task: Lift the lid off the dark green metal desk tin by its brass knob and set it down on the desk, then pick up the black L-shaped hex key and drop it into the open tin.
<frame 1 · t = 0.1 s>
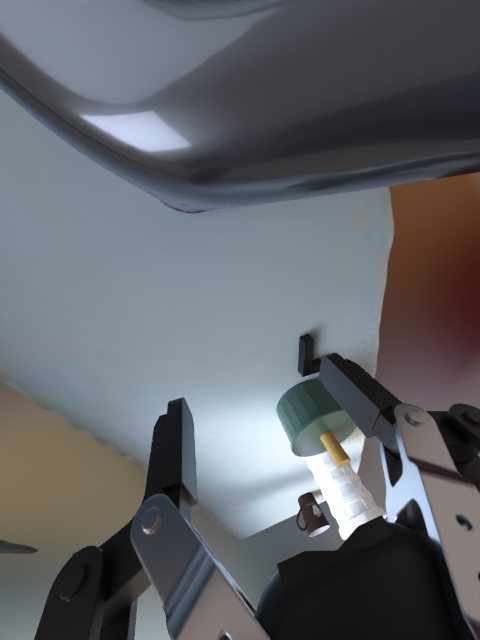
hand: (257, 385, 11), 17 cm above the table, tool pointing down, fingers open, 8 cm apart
tin lid: (324, 432, 37), point 7 cm above the table, touching tin
decorative container: (315, 441, 56), on the table
hex key: (302, 353, 36), on the table
coffee mug: (302, 496, 77), on the table
tin: (303, 401, 44), on the table
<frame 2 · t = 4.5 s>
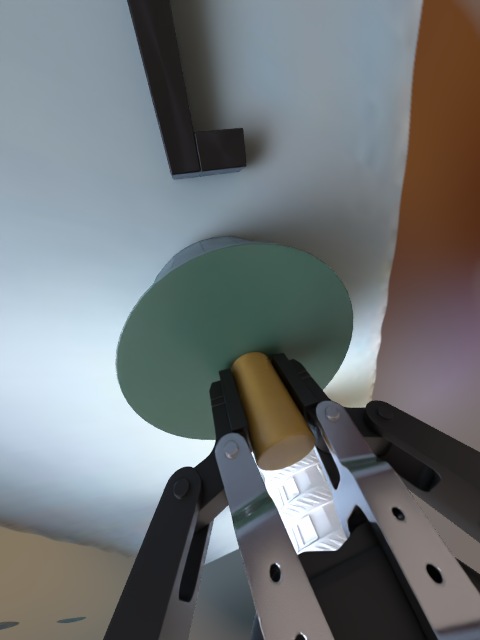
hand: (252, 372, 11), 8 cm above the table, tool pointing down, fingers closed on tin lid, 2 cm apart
tin lid: (248, 362, 12), point 7 cm above the table, touching gripper, tin
decorative container: (277, 421, 31), on the table
hex key: (165, 85, 11), on the table
tin: (226, 311, 19), on the table
when the fingers open (1 cm above the table, at t = 11.2 s): tin lid stays where it is, point 1 cm above the table.
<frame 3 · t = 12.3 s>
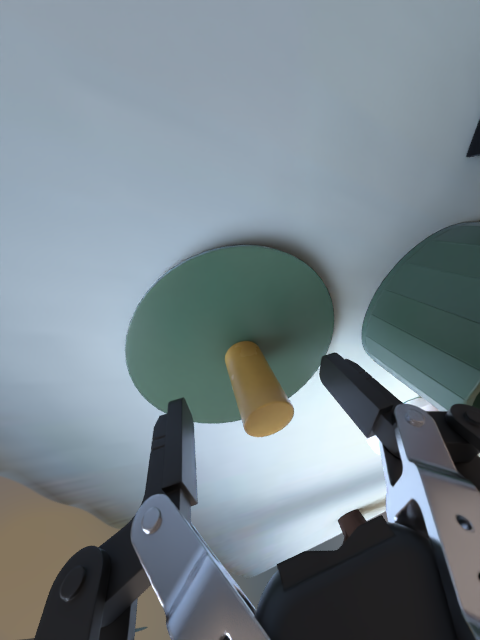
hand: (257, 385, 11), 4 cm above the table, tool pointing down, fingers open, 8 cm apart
tin lid: (240, 351, 14), point 1 cm above the table
decorative container: (398, 422, 30), on the table
coffee mug: (345, 514, 51), on the table
tin: (425, 304, 18), on the table
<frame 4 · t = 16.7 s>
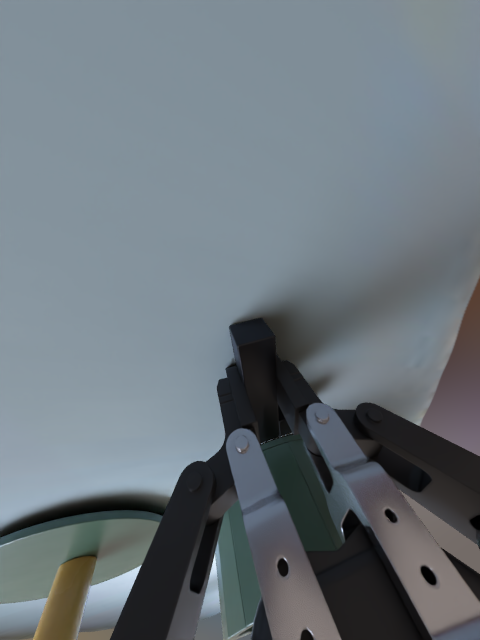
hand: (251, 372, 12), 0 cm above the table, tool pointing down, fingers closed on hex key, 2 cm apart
tin lid: (81, 553, 16), point 1 cm above the table
hex key: (252, 377, 12), on the table, touching gripper
tin: (275, 473, 20), on the table
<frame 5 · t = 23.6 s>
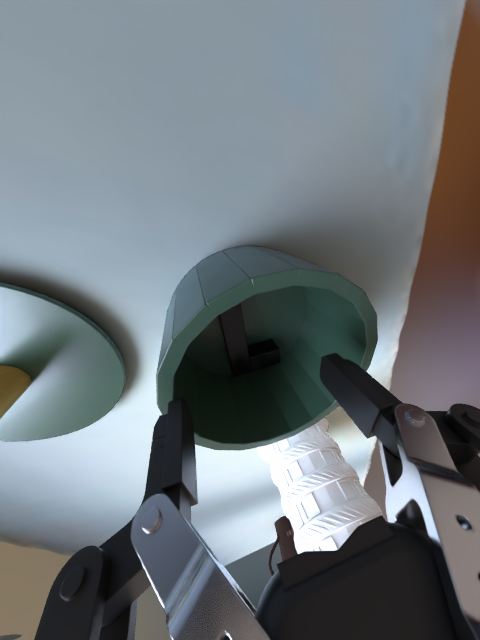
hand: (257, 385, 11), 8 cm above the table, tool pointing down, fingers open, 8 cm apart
tin lid: (13, 374, 14), point 1 cm above the table
decorative container: (290, 431, 30), on the table
hex key: (231, 327, 17), resting on tin
coffee mug: (281, 518, 51), on the table
tin: (244, 322, 18), on the table
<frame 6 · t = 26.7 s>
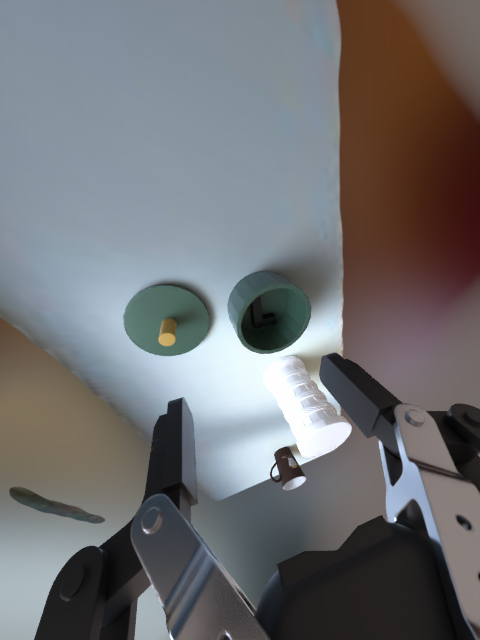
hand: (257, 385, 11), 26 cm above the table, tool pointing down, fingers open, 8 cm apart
tin lid: (169, 322, 35), point 1 cm above the table
decorative container: (283, 372, 51), on the table
hex key: (254, 306, 38), resting on tin
coffee mug: (279, 451, 72), on the table
tin: (260, 304, 39), on the table
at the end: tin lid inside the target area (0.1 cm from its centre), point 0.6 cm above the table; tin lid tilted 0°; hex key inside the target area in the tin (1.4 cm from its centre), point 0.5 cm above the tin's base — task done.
